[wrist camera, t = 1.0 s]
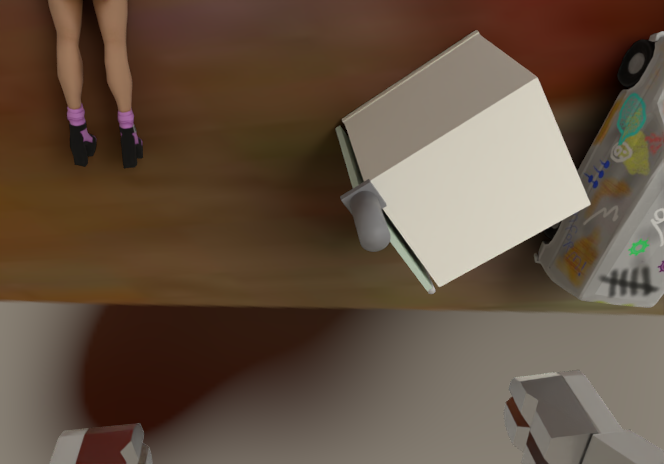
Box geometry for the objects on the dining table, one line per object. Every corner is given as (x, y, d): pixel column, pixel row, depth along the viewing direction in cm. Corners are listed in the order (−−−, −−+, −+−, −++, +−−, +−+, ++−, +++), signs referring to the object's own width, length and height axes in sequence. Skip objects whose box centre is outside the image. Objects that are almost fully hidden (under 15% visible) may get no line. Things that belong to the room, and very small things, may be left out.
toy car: (740, 42, 48) (840, 78, 39) (605, 261, 61) (659, 322, 52) (640, 18, 45) (724, 50, 37) (522, 250, 58) (564, 312, 50)
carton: (476, 29, 44) (538, 75, 34) (527, 139, 51) (592, 204, 41) (341, 119, 47) (362, 184, 37) (405, 212, 54) (438, 288, 44)
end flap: (346, 115, 47) (382, 216, 33) (412, 212, 53) (464, 329, 40) (324, 130, 47) (349, 235, 34) (391, 224, 54) (436, 344, 40)
